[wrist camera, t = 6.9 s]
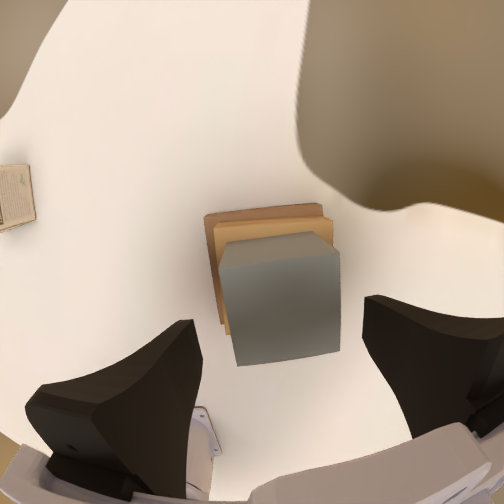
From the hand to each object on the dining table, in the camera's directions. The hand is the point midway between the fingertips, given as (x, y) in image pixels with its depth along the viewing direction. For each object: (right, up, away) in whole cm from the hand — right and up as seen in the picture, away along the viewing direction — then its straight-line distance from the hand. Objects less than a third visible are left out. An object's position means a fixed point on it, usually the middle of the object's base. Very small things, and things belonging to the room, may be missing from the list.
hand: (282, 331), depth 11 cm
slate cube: (0, +2, +6) cm, 6 cm away
